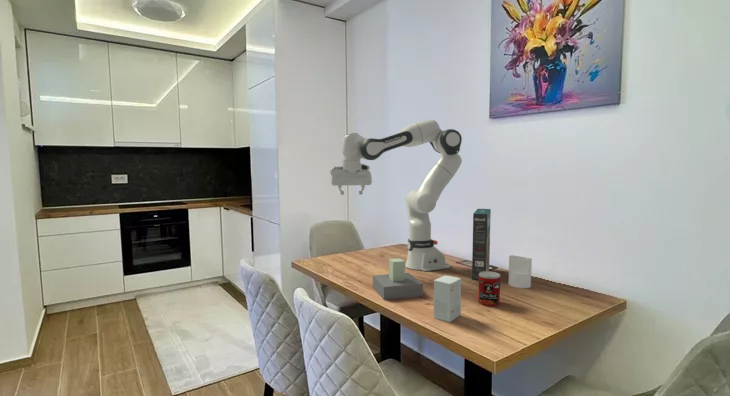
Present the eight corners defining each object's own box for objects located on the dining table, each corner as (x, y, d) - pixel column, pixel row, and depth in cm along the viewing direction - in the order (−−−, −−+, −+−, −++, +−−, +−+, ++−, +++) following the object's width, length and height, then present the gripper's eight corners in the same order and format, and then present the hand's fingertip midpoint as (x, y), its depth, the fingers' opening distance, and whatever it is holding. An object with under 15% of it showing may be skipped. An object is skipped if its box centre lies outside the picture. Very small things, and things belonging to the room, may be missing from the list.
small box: (444, 310, 134) (445, 274, 133) (461, 315, 130) (461, 278, 128) (432, 317, 127) (433, 280, 126) (450, 322, 123) (450, 283, 122)
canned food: (477, 305, 139) (477, 275, 138) (479, 298, 147) (479, 270, 146) (499, 307, 136) (499, 278, 135) (500, 300, 144) (500, 272, 143)
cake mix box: (485, 281, 168) (487, 214, 166) (471, 279, 171) (473, 213, 168) (489, 268, 189) (490, 209, 186) (476, 267, 191) (477, 208, 188)
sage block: (400, 277, 157) (400, 258, 157) (404, 280, 152) (404, 261, 152) (389, 278, 156) (389, 259, 155) (392, 281, 151) (393, 262, 151)
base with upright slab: (534, 284, 163) (534, 257, 162) (526, 289, 157) (527, 261, 156) (513, 280, 169) (513, 254, 168) (504, 285, 163) (505, 257, 162)
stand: (408, 284, 164) (408, 272, 164) (422, 296, 149) (422, 283, 148) (372, 287, 160) (372, 275, 160) (383, 299, 145) (383, 287, 144)
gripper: (331, 166, 181) (331, 195, 182) (372, 166, 186) (372, 194, 187) (329, 166, 187) (329, 194, 188) (369, 166, 192) (369, 193, 193)
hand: (351, 194), depth 188 cm, fingers open, 8 cm apart
